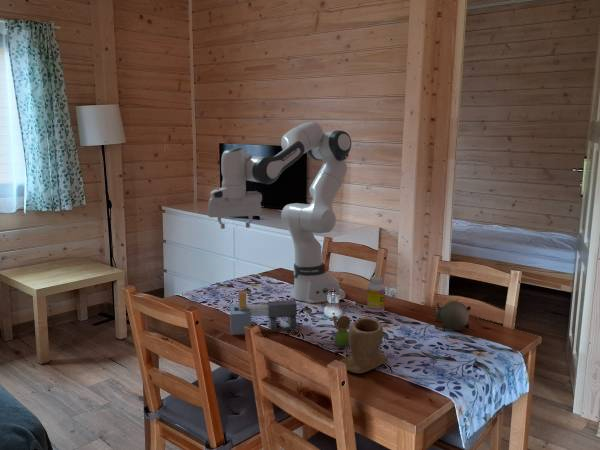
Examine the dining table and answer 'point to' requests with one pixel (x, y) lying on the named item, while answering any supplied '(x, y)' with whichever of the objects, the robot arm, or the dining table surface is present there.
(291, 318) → the grey arch block
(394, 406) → the dining table surface
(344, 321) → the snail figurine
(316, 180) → the robot arm
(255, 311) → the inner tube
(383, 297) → the supplement bottle
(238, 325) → the cradle socket
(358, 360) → the stone cup
